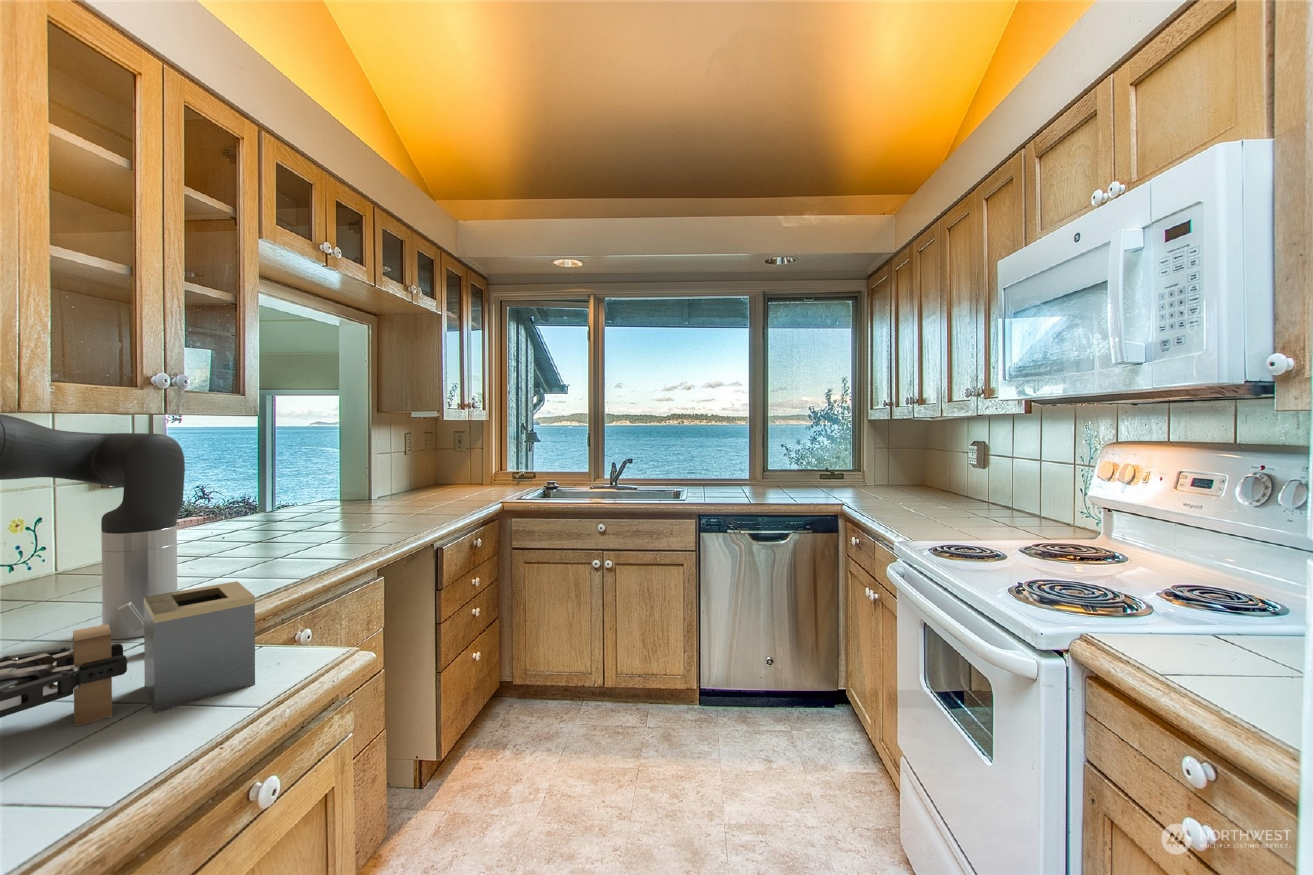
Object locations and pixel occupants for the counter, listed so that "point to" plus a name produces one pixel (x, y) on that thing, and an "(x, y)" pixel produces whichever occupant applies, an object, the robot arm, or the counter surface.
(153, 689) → the coin box
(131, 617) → the lighter
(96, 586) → the counter surface
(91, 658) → the wooden block
